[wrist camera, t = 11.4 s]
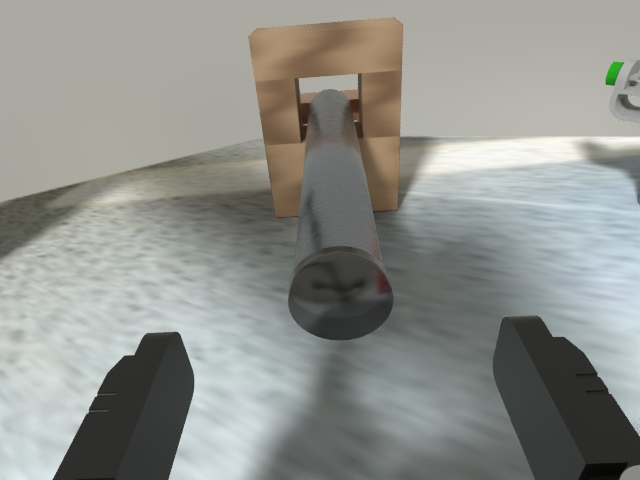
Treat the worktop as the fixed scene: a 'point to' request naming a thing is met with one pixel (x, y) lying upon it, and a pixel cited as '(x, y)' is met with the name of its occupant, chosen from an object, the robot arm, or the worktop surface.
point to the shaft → (336, 232)
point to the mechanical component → (624, 90)
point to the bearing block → (327, 60)
